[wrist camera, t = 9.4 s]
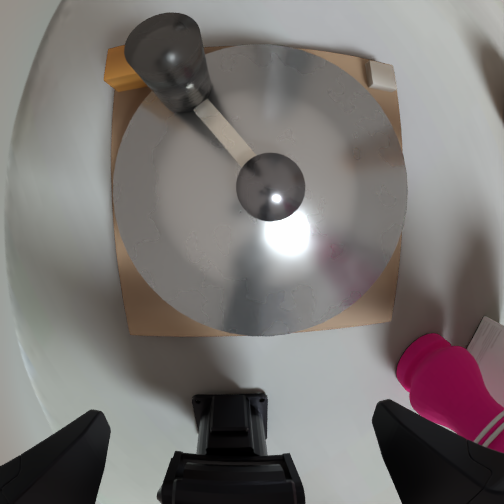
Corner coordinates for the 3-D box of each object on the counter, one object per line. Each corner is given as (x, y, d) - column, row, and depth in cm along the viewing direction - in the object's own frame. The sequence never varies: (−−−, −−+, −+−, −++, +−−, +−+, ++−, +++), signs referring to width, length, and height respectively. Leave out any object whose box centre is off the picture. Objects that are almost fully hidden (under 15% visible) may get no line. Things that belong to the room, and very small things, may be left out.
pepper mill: (380, 365, 23) (497, 528, 3) (436, 313, 22) (584, 433, 2) (405, 397, 24) (495, 526, 4) (452, 353, 23) (563, 458, 4)
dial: (430, 215, 18) (506, 232, 10) (244, 366, 20) (250, 447, 12) (283, 18, 14) (307, -52, 7) (78, 176, 16) (0, 176, 8)
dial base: (382, 313, 21) (406, 335, 17) (136, 326, 20) (118, 352, 16) (383, 71, 17) (409, 54, 13) (125, 67, 16) (104, 46, 12)
